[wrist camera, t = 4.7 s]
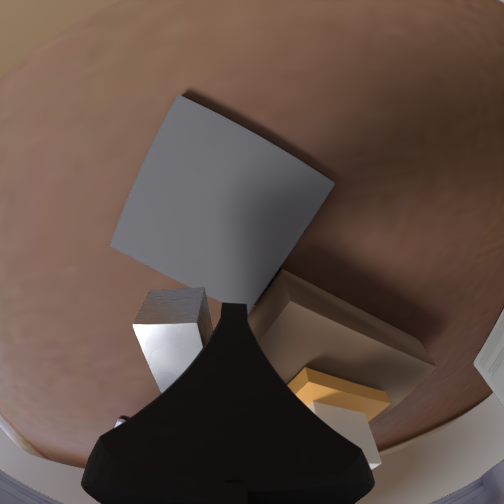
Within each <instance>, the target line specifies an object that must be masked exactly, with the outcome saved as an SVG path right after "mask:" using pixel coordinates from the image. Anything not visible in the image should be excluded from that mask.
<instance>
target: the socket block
mask: <svg viewBox="0 0 504 504" xmlns="http://www.w3.org/2000/svg"><path fill="white" fill-rule="evenodd" d="M247 320H248V323H249V325H250V328H251V330H252V332H253V334H254V336H255V338H256V340H257V342H258V344H259V345H260V347H261V349H262V351H263V352H264V354H265V356H266V357H267V359H268V360H269V362H270V363H271V365H272V366H273V368H274V369H275V371H276V372H277V373H278V375H279V376H280V377H281V378H282V380H283V381H284V382H285V383H286V385H288V384H289V383H290V382H291V381H292V380H293V379H294V378H295V377H296V376H297V375H298V374H299V373H300V372H301V371H302V370H303V369H304V368H305V367H307V368H310V369H313V370H316V371H319V372H322V373H325V374H328V375H331V376H334V377H337V378H340V379H343V380H347V381H350V382H353V383H356V384H360V385H363V386H367V387H370V388H374V389H377V390H381V391H385V392H386V394H387V396H388V398H389V401H390V403H391V404H390V405H389V406H387V407H386V408H385V409H384V410H383V411H381V412H380V413H379V414H378V415H376V416H375V417H374V418H373V419H371V420H370V421H369V422H368V424H369V427H370V426H372V425H373V424H374V423H376V422H377V421H378V420H379V419H381V418H382V417H383V416H384V415H386V414H387V413H388V412H389V411H391V410H392V409H393V408H394V407H395V406H396V405H398V404H399V403H400V402H401V401H402V400H403V399H405V398H406V397H407V396H408V395H409V394H410V393H411V392H412V391H413V390H414V389H416V388H417V387H418V386H419V385H420V384H421V383H422V382H423V381H424V380H425V379H426V378H427V377H428V376H429V375H430V374H431V373H432V372H433V371H434V370H435V369H436V368H437V366H436V365H435V363H434V361H433V360H432V358H431V357H430V355H429V354H428V352H427V351H426V349H425V348H424V347H423V345H422V344H421V342H420V341H419V339H417V338H415V337H413V336H411V335H409V334H407V333H405V332H403V331H401V330H399V329H397V328H396V327H394V326H392V325H390V324H388V323H386V322H384V321H382V320H380V319H378V318H376V317H374V316H372V315H371V314H369V313H367V312H365V311H363V310H361V309H359V308H357V307H355V306H353V305H351V304H349V303H347V302H345V301H344V300H342V299H340V298H338V297H336V296H334V295H332V294H330V293H328V292H326V291H324V290H322V289H320V288H319V287H317V286H315V285H313V284H311V283H309V282H307V281H305V280H303V279H301V278H299V277H297V276H295V275H294V274H292V273H290V272H288V271H286V270H284V269H281V270H280V272H279V273H278V275H277V276H276V277H275V279H274V280H273V282H272V283H271V285H270V286H269V287H268V289H267V290H266V292H265V293H264V295H263V296H262V297H261V299H260V300H259V302H258V303H257V305H256V306H255V307H254V309H253V310H252V312H251V313H250V314H249V316H248V317H247Z"/></svg>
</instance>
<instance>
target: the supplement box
mask: <svg viewBox="0 0 504 504" xmlns="http://www.w3.org/2000/svg"><path fill="white" fill-rule="evenodd" d="M473 364H474V366H475V367H476V368H477V370H478V371H479V372H480V374H481V375H482V377H483V378H484V379H485V381H486V382H487V384H488V385H489V387H490V388H491V389H492V391H493V392H494V394H495V395H496V397H497V398H498V400H499V401H500V403H501V404H502V405H503V407H504V309H503V311H502V313H501V315H500V317H499V318H498V320H497V322H496V324H495V326H494V328H493V330H492V331H491V333H490V335H489V337H488V338H487V340H486V342H485V344H484V345H483V347H482V349H481V350H480V352H479V353H478V355H477V357H476V358H475V360H474V362H473Z"/></svg>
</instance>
